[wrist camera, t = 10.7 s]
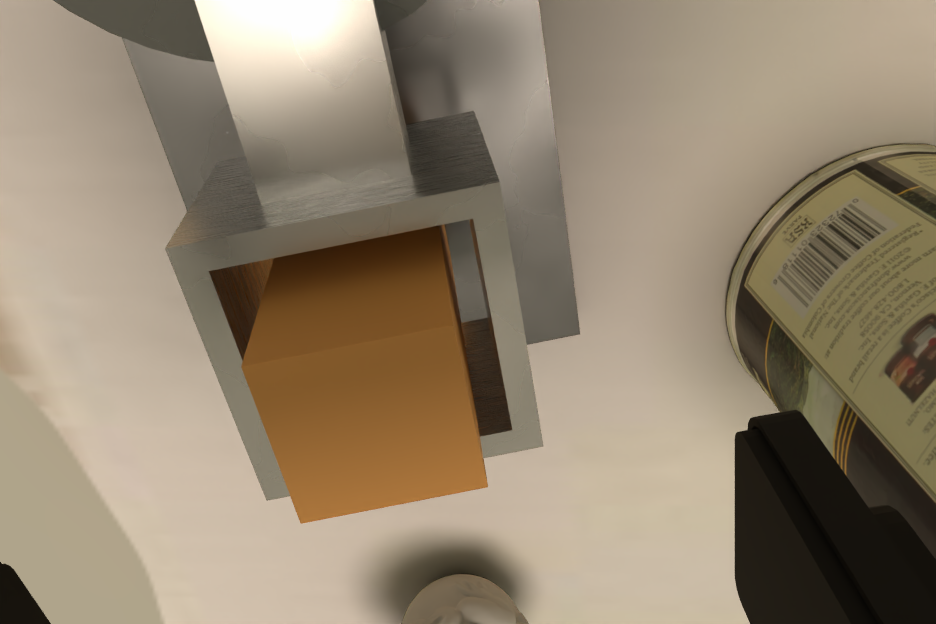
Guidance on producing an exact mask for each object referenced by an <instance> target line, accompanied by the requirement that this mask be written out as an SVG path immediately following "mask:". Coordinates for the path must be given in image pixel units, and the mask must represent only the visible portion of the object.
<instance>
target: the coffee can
mask: <svg viewBox="0 0 936 624" xmlns="http://www.w3.org/2000/svg"><path fill="white" fill-rule="evenodd" d="M726 319H727V327H728V332H729V337H730V341H731V344H732V346H733V349H734V351H735V353H736V355H737V358H738V360H739V362H740V363H741V365H742V366H743V367H744V369H745V370H746V371H747V373H749V374H750V375H751V376H752V377H753V378H754V379H755V380H756V381H757V382H758V383H759V384H760V386H761V387H762V389H763V390H764V392H765V393H766V394H767V395H768V397H769V398H770V399H771V400H772V401H773V403H774V404H775V406H776V407H777V408H778V410H779V411H780V412H785V411H791V410H798V411H800V412H801V413H802V414H803V415H804V417H805V418H806V419H807V421H808V422H809V424H810V425H811V426H812V428H813V429H814V431H815V432H816V433H817V435H818V436H819V438H820V439H821V441H822V442H823V443H824V445H825V446H826V448H827V449H828V451H829V452H830V453H831V455H832V456H833V458H834V459H835V461H836V462H837V463H838V465H839V466H840V468H841V469H842V471H843V472H844V473H845V475H846V476H847V478H848V479H849V480H850V482H851V483H852V485H853V486H854V488H855V489H856V490H857V492H858V493H859V495H860V496H861V498H862V499H863V500H864V502H865V503H866V505H867V506H868V507H874V506H880V505H889V506H891V507H893V508H894V509H896V510H898V512H899V513H900V514H901V515H902V516H903V517H904V518H905V519H906V520H907V522H908V523H909V524H910V526H911V527H912V528H913V530H914V531H915V532H916V534H917V535H918V536H919V538H920V539H921V540H922V542H923V543H924V544H925V546H926V547H927V548H928V550H929V551H930V552H931V554H932V555H933V556H934V558H935V559H936V147H935V146H932V145H928V144H917V145H909V144H901V145H892V146H884V147H877V148H873V149H869V150H866V151H862V152H859V153H856V154H853V155H850V156H847V157H845V158H843V159H840V160H838V161H836V162H834V163H832V164H830V165H828V166H826V167H824V168H823V169H821V170H819V171H817V172H815V173H813V174H811V175H810V176H809V177H808V178H807V179H805V180H804V181H803V182H801V183H800V184H799V185H798V186H796V187H795V188H794V189H793V190H791V191H790V192H789V193H788V194H787V195H785V196H784V197H783V198H782V199H781V200H780V201H779V202H778V203H777V204H776V205H775V206H774V207H773V208H772V209H771V210H770V211H769V212H768V214H767V215H766V216H765V217H764V218H763V219H762V221H761V222H760V223H759V225H758V226H757V227H756V229H755V230H754V231H753V233H752V235H751V236H750V238H749V239H748V241H747V243H746V244H745V246H744V248H743V250H742V252H741V254H740V257H739V259H738V261H737V263H736V265H735V268H734V270H733V273H732V277H731V281H730V287H729V291H728V295H727V308H726Z"/></svg>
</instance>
